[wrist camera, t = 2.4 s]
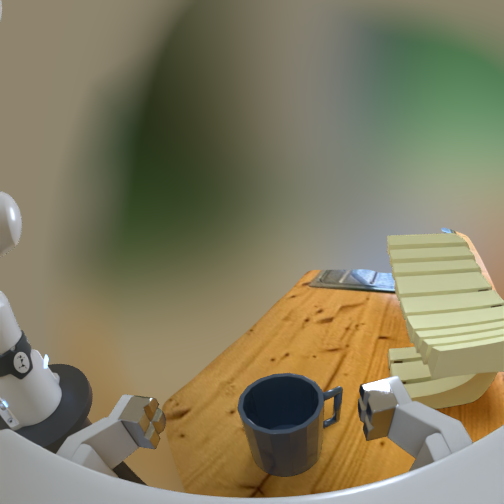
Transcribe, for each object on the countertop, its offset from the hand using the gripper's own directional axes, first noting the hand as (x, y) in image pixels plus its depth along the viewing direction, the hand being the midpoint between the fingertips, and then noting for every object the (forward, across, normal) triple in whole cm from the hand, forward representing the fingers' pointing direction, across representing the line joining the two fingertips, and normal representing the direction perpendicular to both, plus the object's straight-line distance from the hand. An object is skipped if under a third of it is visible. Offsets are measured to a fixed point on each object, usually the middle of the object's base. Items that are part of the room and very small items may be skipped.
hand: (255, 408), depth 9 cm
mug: (+13, -1, +22) cm, 25 cm away
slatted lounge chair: (+19, -23, +22) cm, 37 cm away
